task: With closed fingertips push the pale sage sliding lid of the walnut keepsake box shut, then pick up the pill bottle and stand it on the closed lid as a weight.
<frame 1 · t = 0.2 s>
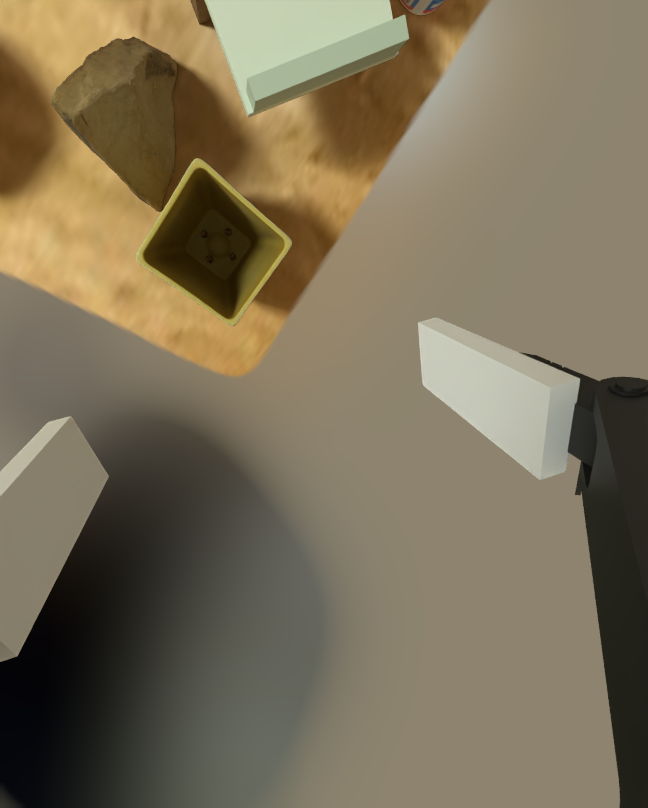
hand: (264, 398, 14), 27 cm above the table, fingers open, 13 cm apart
flower pot: (220, 245, 36), on the table
rock: (154, 132, 31), on the table
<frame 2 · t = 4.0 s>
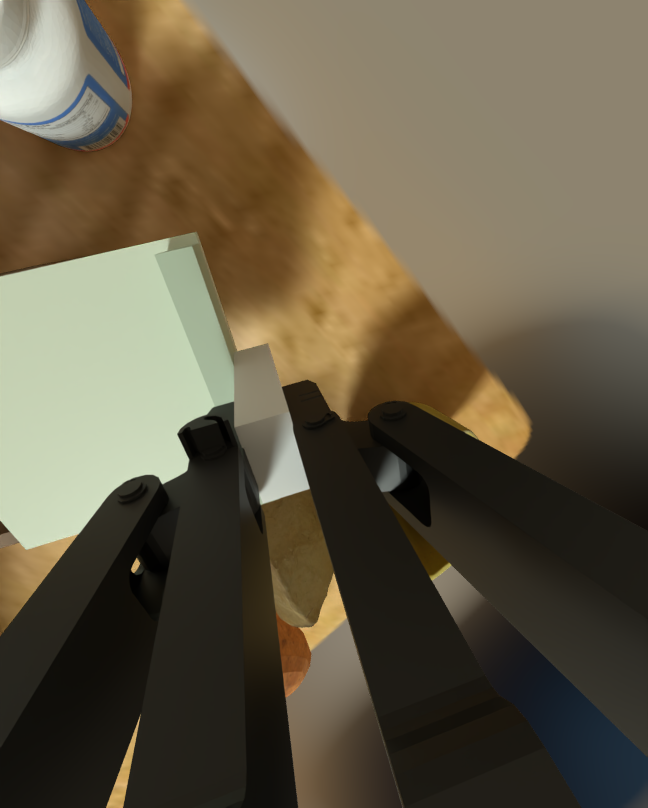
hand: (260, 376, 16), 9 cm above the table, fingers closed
pill bottle: (72, 86, 17), on the table
flower pot: (389, 439, 30), on the table
keepsake box: (32, 384, 22), on the table
potato: (248, 617, 36), on the table
lid: (92, 421, 15), point 9 cm above the table, slide at 6.1 cm, touching gripper
rock: (277, 483, 29), on the table
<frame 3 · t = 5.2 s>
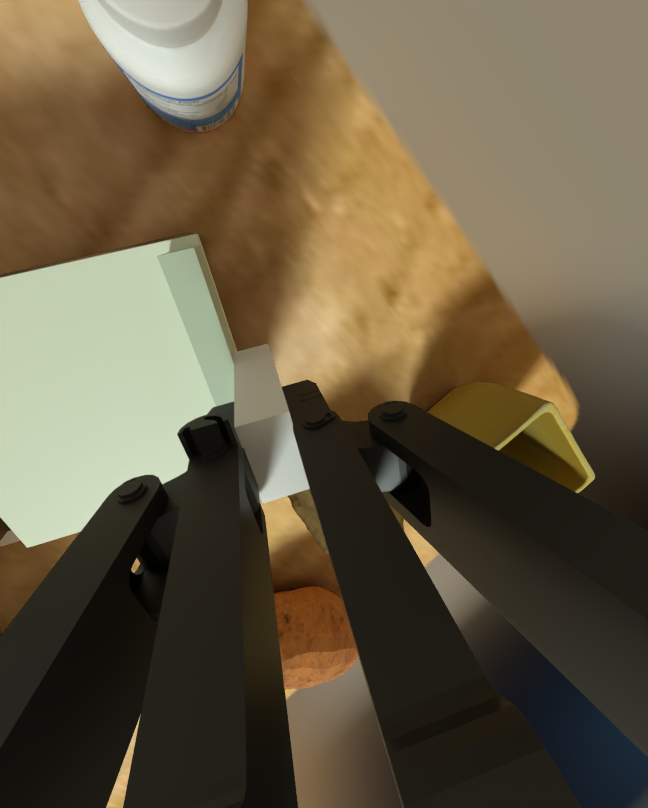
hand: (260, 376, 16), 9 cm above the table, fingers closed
pill bottle: (187, 70, 18), on the table
flower pot: (446, 420, 31), on the table
keepsake box: (122, 361, 22), on the table
potato: (298, 598, 36), on the table
lid: (94, 420, 15), point 9 cm above the table, slide at 0.7 cm, touching gripper
rock: (337, 463, 30), on the table
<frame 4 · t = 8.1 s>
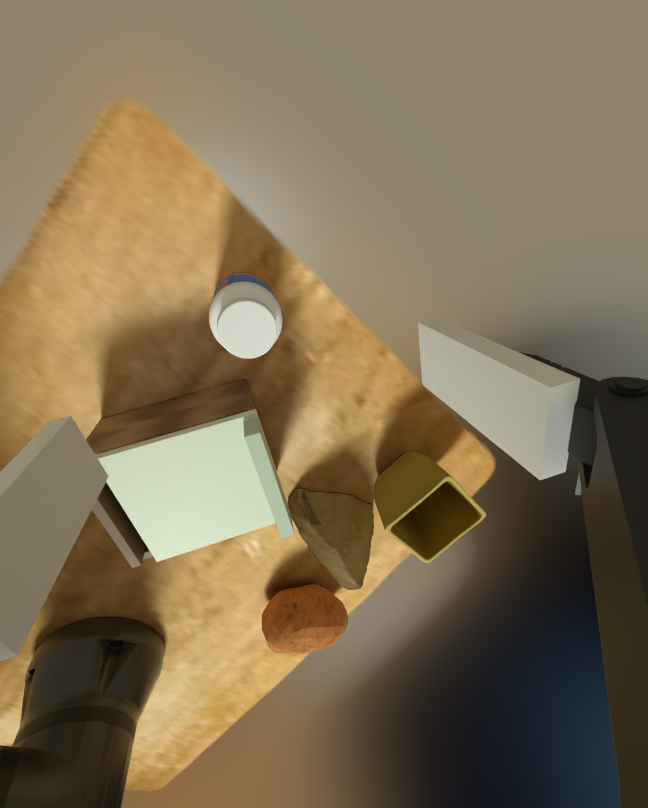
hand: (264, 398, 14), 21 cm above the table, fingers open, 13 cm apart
pill bottle: (243, 303, 33), on the table
flower pot: (401, 472, 46), on the table
keepsake box: (197, 447, 37), on the table
potato: (302, 593, 51), on the table
lid: (202, 498, 30), point 9 cm above the table, slide at 0.7 cm
rock: (328, 501, 45), on the table
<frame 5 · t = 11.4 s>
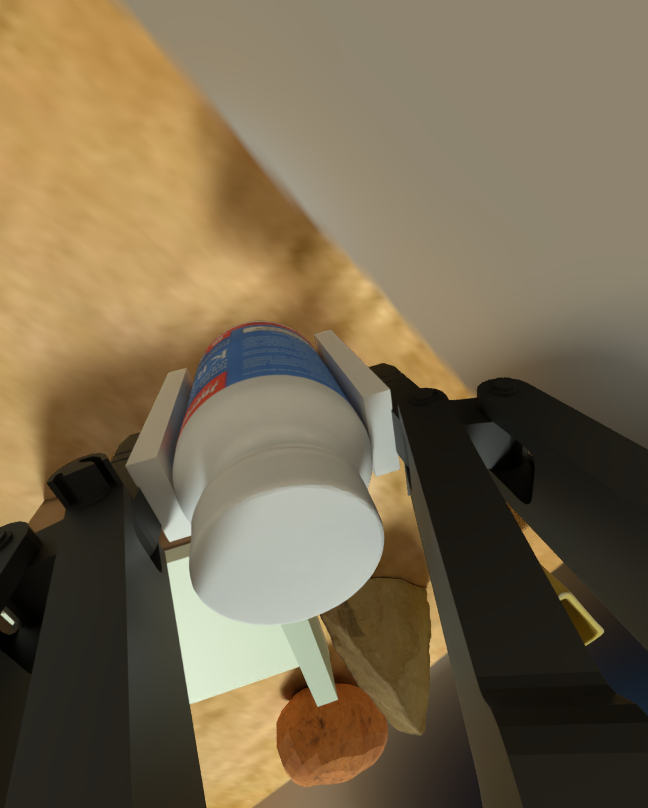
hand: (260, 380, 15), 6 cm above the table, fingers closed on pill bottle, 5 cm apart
pill bottle: (260, 378, 16), point 5 cm above the table, touching gripper
flower pot: (468, 547, 34), on the table
keepsake box: (190, 533, 26), on the table
potato: (327, 687, 40), on the table
lid: (192, 655, 18), point 9 cm above the table, slide at 0.7 cm
rock: (369, 586, 33), on the table
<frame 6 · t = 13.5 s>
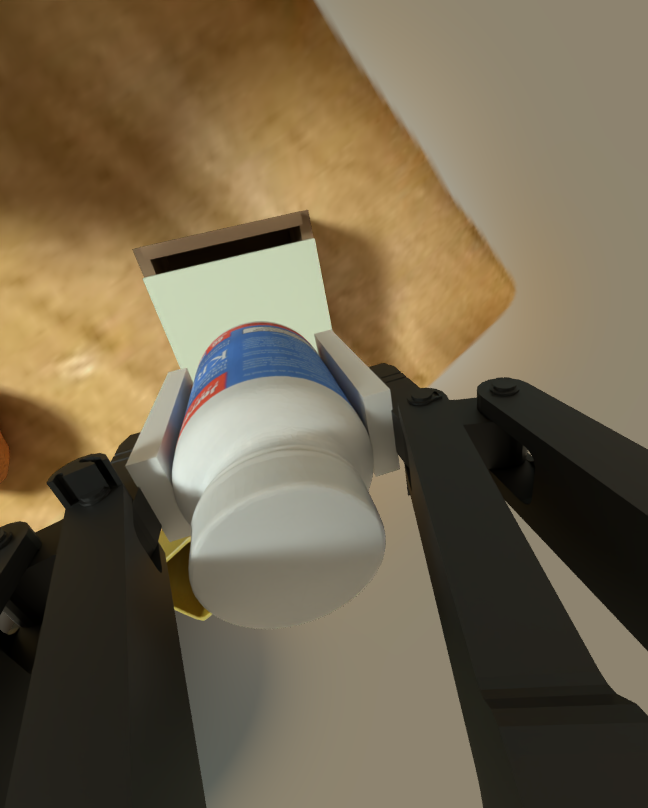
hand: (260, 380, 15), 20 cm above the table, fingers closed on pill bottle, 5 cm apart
pill bottle: (260, 379, 16), point 20 cm above the table, touching gripper
flower pot: (204, 516, 43), on the table
keepsake box: (249, 310, 33), on the table
lid: (258, 349, 26), point 9 cm above the table, slide at 0.7 cm
when the fingers open (9 cm above the table, at t = 15.6 s): pill bottle drops 1 cm, resting on lid.
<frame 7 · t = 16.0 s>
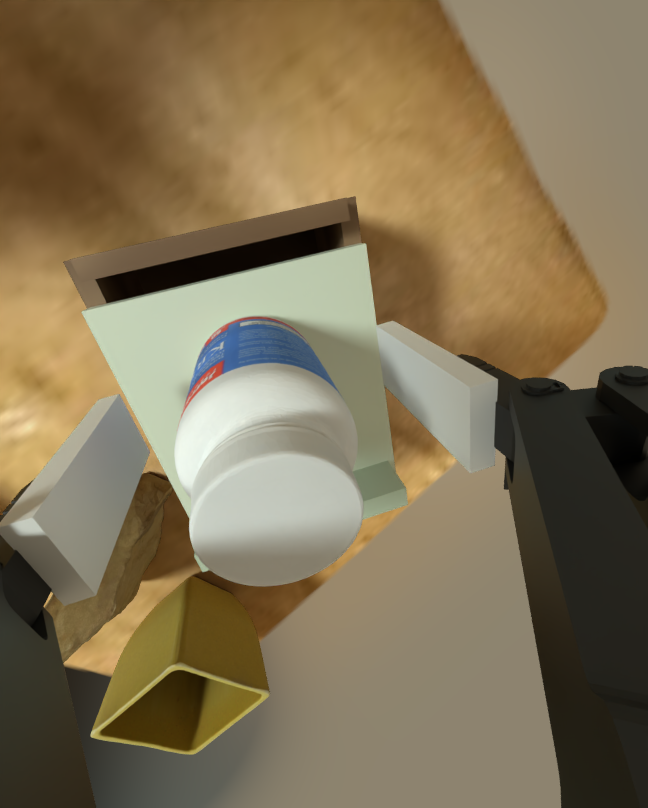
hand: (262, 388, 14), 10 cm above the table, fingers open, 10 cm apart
pill bottle: (257, 371, 17), point 8 cm above the table, touching lid
flower pot: (196, 597, 33), on the table
keepsake box: (255, 342, 24), on the table
lid: (273, 417, 17), point 9 cm above the table, slide at 0.7 cm, touching pill bottle
rock: (139, 525, 28), on the table
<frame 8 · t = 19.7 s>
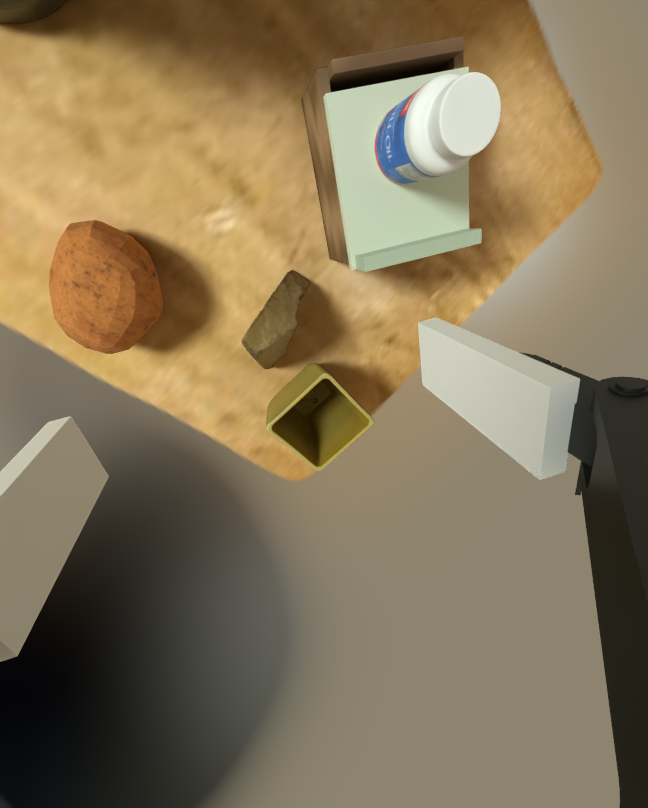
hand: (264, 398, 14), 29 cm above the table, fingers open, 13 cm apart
pill bottle: (401, 147, 30), point 8 cm above the table, touching lid
flower pot: (306, 391, 46), on the table
keepsake box: (372, 174, 37), on the table
potato: (119, 287, 36), on the table
lid: (410, 174, 30), point 9 cm above the table, slide at 0.6 cm, touching pill bottle
rock: (279, 318, 41), on the table
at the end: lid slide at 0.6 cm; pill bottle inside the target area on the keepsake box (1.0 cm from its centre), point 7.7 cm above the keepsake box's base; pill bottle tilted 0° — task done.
